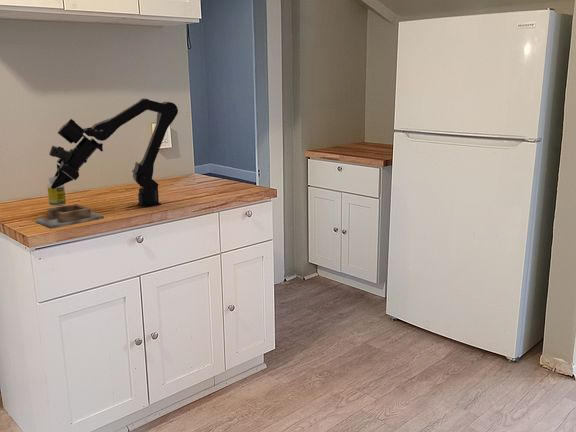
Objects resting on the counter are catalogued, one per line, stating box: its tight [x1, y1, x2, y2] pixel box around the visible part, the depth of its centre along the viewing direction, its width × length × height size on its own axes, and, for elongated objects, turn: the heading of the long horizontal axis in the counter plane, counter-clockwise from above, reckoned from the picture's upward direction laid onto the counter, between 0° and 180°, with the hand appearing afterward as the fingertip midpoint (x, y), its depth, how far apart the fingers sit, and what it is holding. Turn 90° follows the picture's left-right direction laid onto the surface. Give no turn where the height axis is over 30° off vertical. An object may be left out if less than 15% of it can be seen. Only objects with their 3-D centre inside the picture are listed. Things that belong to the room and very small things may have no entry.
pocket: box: [34, 203, 105, 229], centre depth 186 cm, size 18×12×4 cm, turn 136°
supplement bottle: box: [46, 176, 67, 207], centre depth 193 cm, size 5×5×10 cm
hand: (51, 186), depth 192 cm, fingers closed on supplement bottle, 5 cm apart
